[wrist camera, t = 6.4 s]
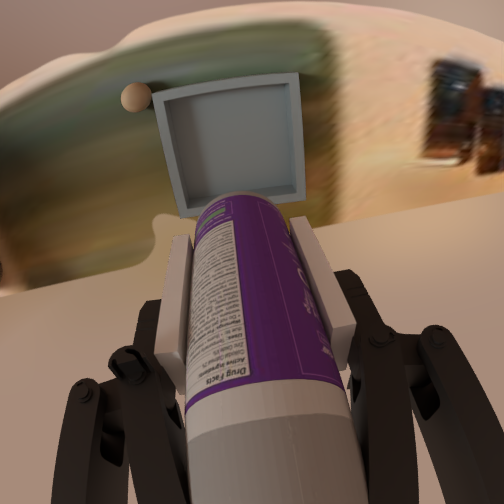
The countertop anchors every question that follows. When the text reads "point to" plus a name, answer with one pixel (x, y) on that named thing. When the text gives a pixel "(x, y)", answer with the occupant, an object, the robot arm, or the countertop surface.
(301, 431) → the container
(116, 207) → the countertop surface
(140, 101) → the ball
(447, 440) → the robot arm
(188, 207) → the tray
